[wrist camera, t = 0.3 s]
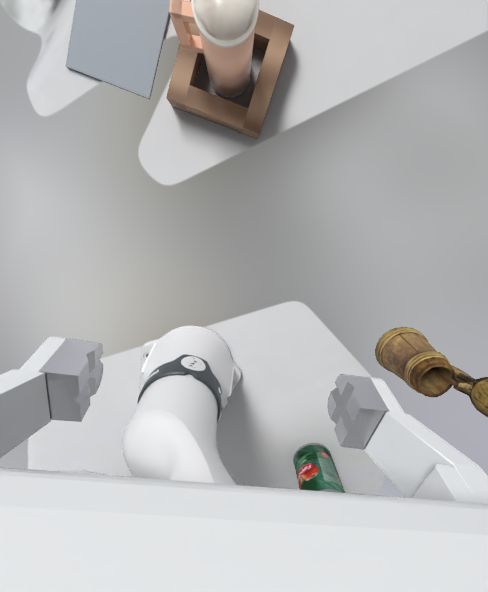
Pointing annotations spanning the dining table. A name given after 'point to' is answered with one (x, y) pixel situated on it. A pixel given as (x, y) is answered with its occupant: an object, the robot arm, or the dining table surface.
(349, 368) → the dining table surface
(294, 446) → the dining table surface
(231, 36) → the peach tumbler
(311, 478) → the canned tomato
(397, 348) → the wooden mug
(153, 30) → the grey mat
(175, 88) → the walnut holder
